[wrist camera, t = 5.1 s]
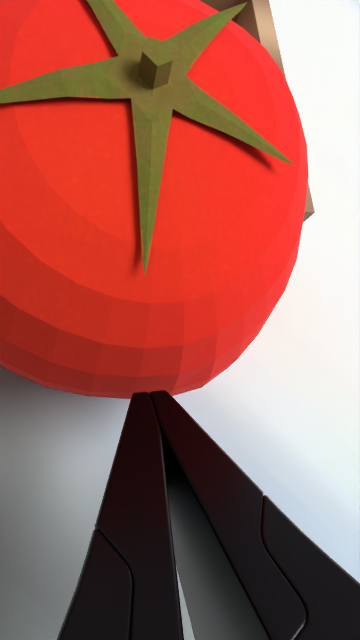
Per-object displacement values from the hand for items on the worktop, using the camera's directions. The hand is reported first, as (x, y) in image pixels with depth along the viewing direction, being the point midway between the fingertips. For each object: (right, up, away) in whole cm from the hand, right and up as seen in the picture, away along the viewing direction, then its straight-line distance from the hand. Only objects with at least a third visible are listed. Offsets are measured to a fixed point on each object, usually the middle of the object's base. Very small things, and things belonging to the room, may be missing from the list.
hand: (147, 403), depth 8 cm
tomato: (-2, +5, +8) cm, 9 cm away
